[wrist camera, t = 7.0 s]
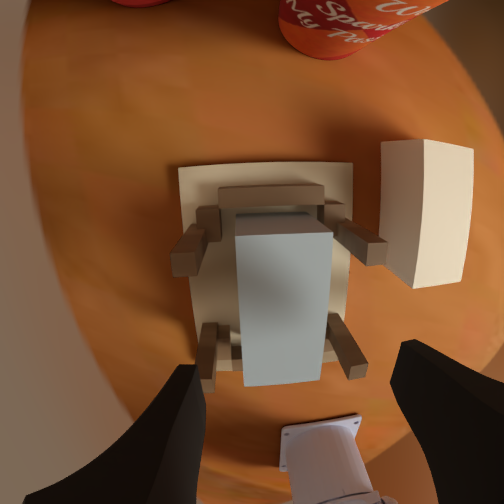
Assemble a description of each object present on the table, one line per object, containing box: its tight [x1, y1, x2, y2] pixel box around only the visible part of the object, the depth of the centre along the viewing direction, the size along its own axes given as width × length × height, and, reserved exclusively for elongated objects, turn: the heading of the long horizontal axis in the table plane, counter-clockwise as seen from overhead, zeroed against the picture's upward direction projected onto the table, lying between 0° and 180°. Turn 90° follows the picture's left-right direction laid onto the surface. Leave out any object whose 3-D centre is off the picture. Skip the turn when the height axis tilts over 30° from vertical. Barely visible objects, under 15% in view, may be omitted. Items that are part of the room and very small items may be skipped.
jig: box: [170, 162, 388, 393], centre depth 15 cm, size 14×10×6 cm
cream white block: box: [379, 139, 474, 289], centre depth 15 cm, size 8×4×5 cm, turn 2°
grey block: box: [235, 212, 333, 387], centre depth 15 cm, size 8×4×5 cm, turn 2°
